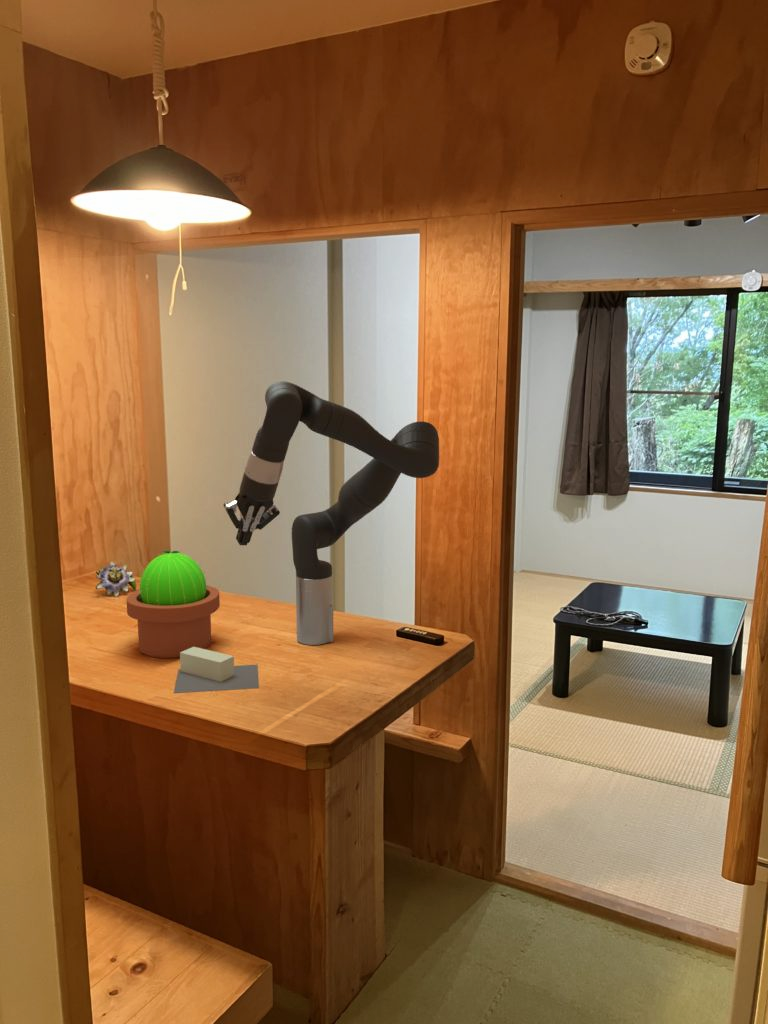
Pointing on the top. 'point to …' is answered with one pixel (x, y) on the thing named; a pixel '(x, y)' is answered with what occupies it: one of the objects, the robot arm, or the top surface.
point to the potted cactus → (173, 606)
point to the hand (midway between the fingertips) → (241, 543)
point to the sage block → (207, 664)
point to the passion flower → (115, 579)
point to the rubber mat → (241, 680)
